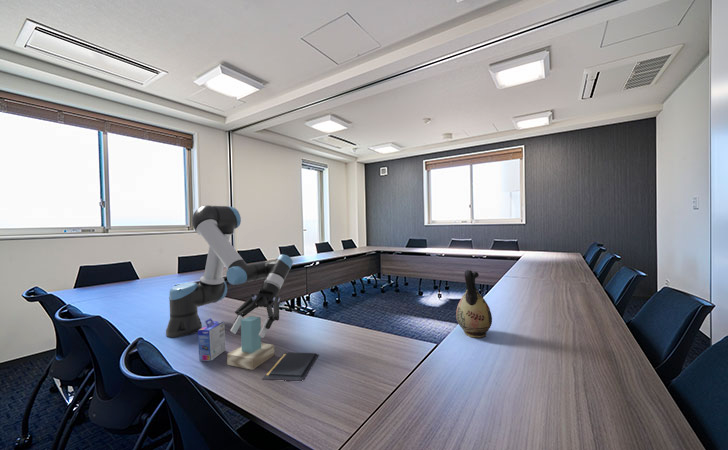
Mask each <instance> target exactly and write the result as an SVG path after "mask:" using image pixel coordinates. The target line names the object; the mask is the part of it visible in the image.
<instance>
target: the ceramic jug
mask: <svg viewBox="0 0 728 450" xmlns="http://www.w3.org/2000/svg"><path fill="white" fill-rule="evenodd" d="M478 277H479V273H478V271H474V272H473V271H472V269H466V270H465V271H464V280H465V286H466V291H465V292H464V293H463V295H462V297H461V298H460V300H459V302H458V304H457V307H456V311H455V312H456V313H455V318H456V321H457V324H458V326H459V327H460V328H461V329H462V331H463V332H464V334H465V335H466V336H468V337H470V338H485V337H486V336H487V332H488V331H489V330H490V329H491V326H492V323H493V317H492V312H491V308H490V306H489V304H488V303H487V301H486V300H485V298H484V296H482V294H481V293H480V292H479V291H478V289H477V288H476V278H478ZM484 336H485V337H484Z"/></svg>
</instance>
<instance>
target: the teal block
mask: <svg viewBox="0 0 728 450" xmlns="http://www.w3.org/2000/svg"><path fill="white" fill-rule="evenodd" d="M261 325H262V323H261V317H260V316H254V315H250V316H247V317H245V318H244V319H242V320H241V325H240V340H241V342H240V343H241V345H240V347H241V348H242V351H243V352H248V353H253V352H255V351H256V350H258V349H260V348H261V343H262V338H261V337H260V336H259V333H260V330H261V328H262V326H261Z"/></svg>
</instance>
